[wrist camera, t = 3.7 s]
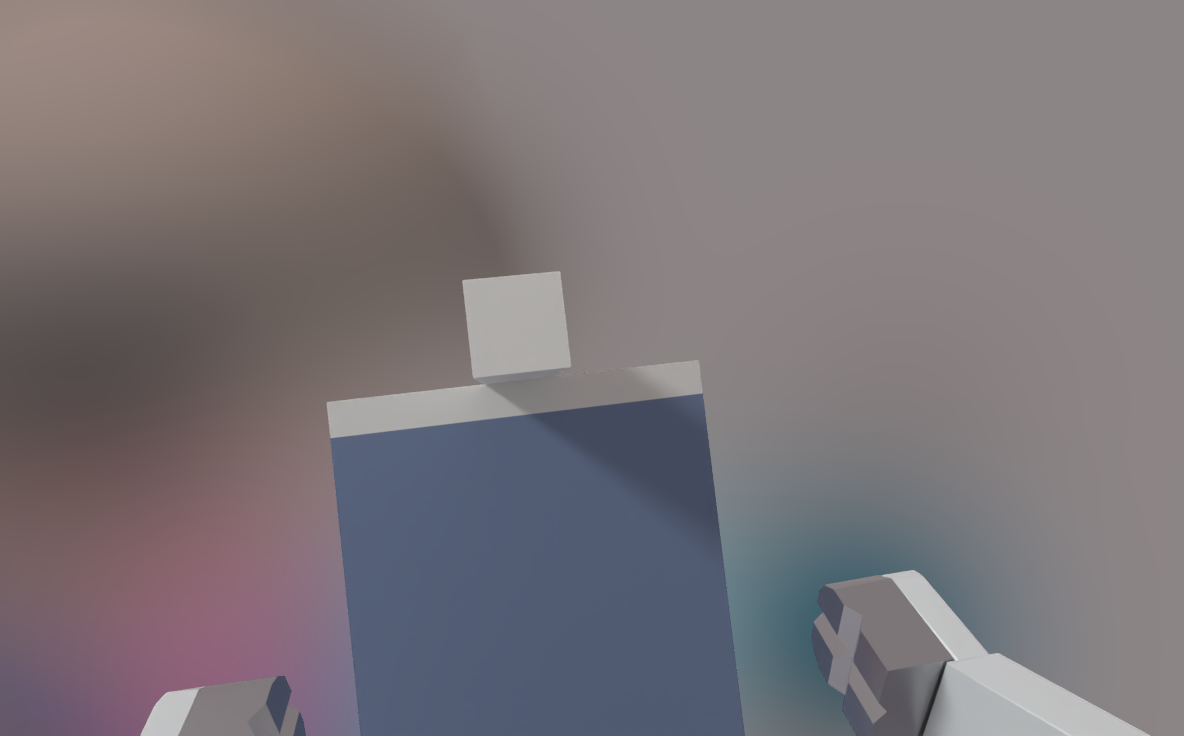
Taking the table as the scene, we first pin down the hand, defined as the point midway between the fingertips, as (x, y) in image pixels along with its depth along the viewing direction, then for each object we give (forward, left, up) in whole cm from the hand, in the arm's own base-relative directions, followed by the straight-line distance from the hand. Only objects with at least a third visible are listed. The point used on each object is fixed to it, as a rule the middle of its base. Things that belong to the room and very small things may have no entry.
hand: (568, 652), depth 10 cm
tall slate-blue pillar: (+23, 0, -21) cm, 32 cm away
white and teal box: (+20, 0, +5) cm, 20 cm away
